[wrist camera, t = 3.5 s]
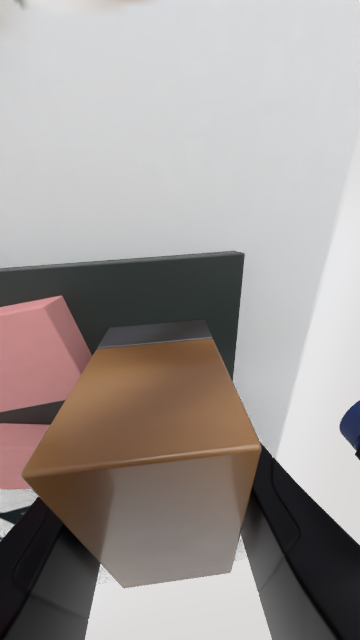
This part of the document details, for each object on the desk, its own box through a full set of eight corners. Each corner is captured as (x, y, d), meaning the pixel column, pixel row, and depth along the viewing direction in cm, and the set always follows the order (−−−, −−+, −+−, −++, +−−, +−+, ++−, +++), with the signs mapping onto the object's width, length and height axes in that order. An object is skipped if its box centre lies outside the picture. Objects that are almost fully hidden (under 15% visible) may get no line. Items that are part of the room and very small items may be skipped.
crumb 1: (62, 295, 7) (42, 306, 5) (102, 374, 8) (92, 395, 7) (-42, 314, 7) (-83, 330, 5) (19, 390, 8) (-2, 413, 7)
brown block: (204, 318, 7) (264, 447, 3) (204, 433, 11) (231, 573, 6) (109, 327, 7) (15, 477, 3) (140, 441, 11) (121, 588, 6)
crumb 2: (58, 424, 10) (45, 448, 8) (67, 464, 11) (56, 488, 10) (-25, 422, 9) (-51, 447, 8) (-3, 464, 11) (-22, 490, 10)
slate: (235, 251, 7) (245, 253, 6) (221, 438, 13) (226, 453, 12) (-209, 283, 7) (-269, 291, 6) (-17, 466, 12) (-31, 484, 11)
